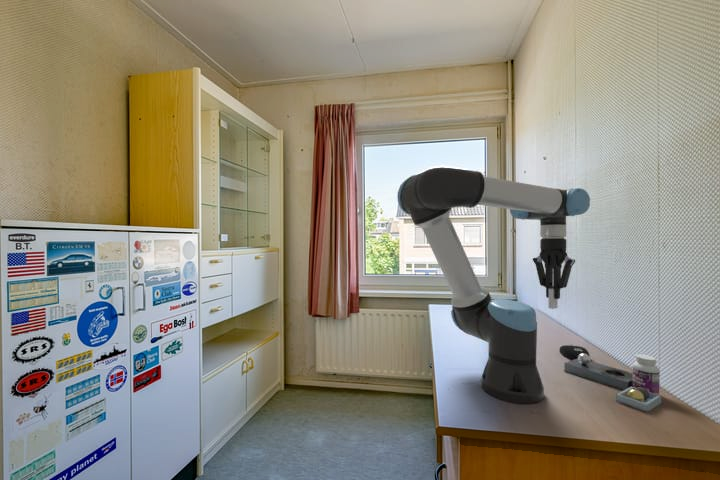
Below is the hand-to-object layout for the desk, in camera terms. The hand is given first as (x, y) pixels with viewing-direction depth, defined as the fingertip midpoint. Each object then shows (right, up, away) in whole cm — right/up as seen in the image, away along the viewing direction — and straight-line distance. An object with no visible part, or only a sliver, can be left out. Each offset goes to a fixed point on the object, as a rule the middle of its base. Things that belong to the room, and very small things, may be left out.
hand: (553, 308), depth 108 cm
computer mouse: (+11, -19, +5) cm, 22 cm away
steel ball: (+5, -14, -8) cm, 17 cm away
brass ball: (+3, -16, -28) cm, 33 cm away
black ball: (+7, -16, -26) cm, 32 cm away
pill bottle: (+11, -18, -22) cm, 31 cm away
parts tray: (+5, -18, -27) cm, 33 cm away
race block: (+7, -18, -12) cm, 23 cm away
